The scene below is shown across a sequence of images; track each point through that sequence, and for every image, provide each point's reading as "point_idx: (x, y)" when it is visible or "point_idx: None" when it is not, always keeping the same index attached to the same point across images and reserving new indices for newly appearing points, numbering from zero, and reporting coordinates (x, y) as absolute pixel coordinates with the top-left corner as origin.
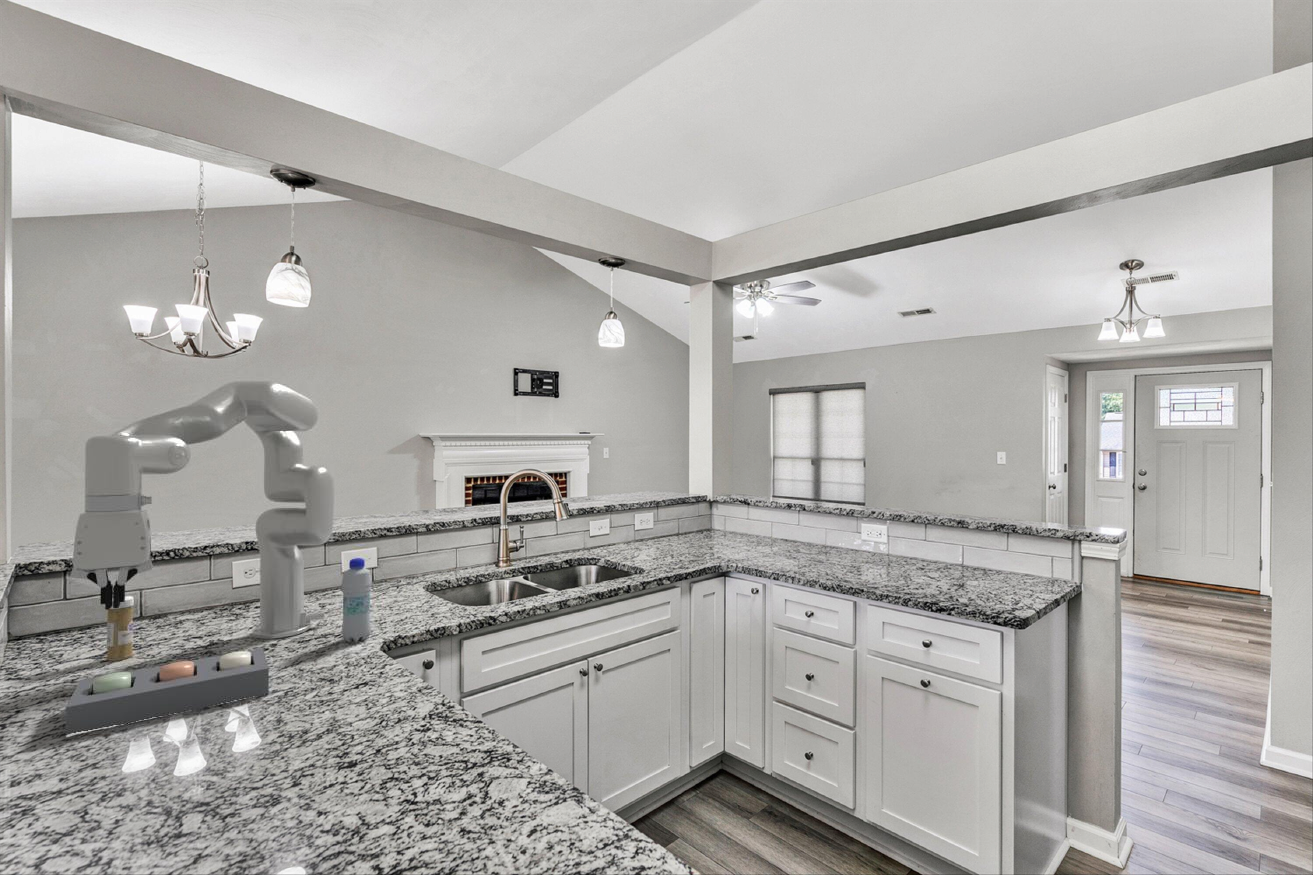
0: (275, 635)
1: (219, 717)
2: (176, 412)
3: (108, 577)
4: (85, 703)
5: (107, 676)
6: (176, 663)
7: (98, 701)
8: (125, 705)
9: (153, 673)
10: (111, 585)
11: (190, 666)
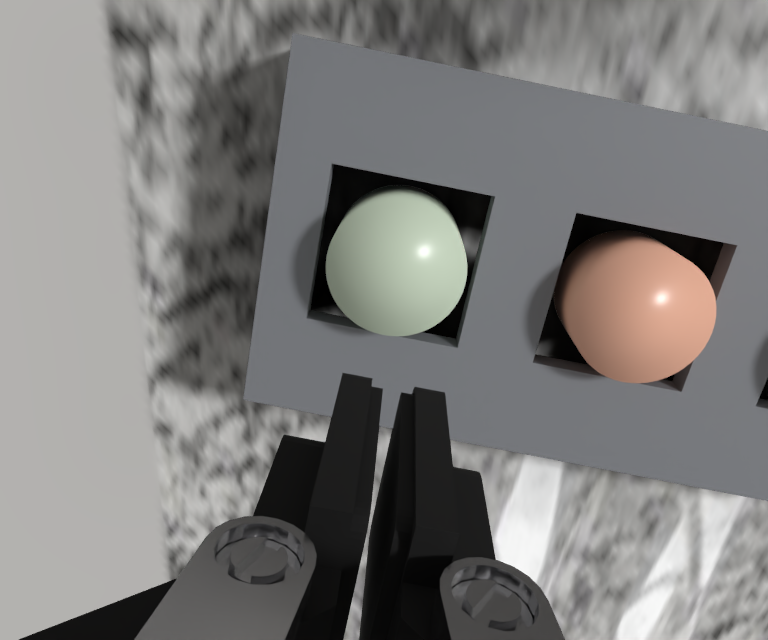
0: None
1: (639, 537)
2: None
3: (300, 605)
4: (299, 409)
5: (381, 236)
6: (656, 274)
7: None
8: None
9: (562, 209)
10: (346, 597)
11: (684, 365)
